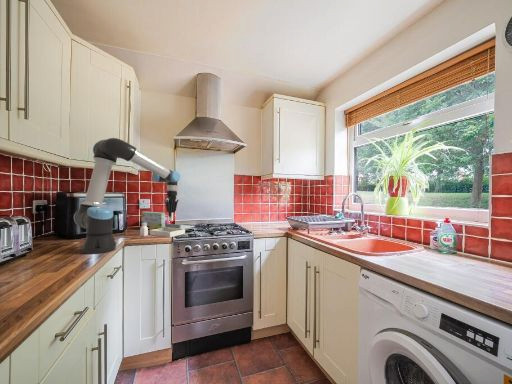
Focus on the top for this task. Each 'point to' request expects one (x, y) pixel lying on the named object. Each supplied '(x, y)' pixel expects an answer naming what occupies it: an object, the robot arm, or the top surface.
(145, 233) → the pepper shaker
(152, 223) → the snack box
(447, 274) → the top surface
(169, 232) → the mailer box
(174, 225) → the mailer lid
